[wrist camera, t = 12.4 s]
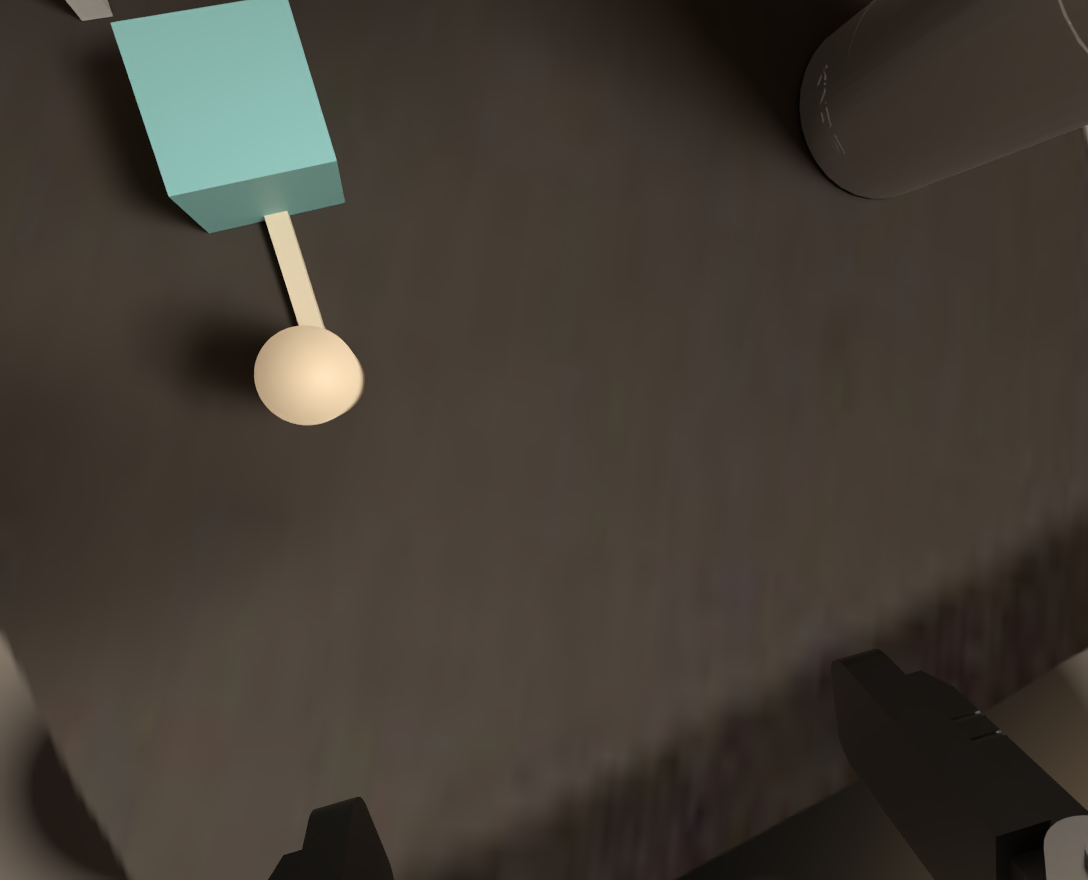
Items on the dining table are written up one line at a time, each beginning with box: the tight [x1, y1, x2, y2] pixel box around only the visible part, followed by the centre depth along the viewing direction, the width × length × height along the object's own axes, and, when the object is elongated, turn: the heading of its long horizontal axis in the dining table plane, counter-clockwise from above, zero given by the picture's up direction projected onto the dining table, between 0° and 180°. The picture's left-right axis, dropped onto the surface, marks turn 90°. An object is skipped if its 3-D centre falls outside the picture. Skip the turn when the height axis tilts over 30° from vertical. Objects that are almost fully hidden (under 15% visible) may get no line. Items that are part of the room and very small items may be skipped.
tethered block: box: [111, 0, 366, 425], centre depth 27 cm, size 6×15×10 cm, turn 16°
